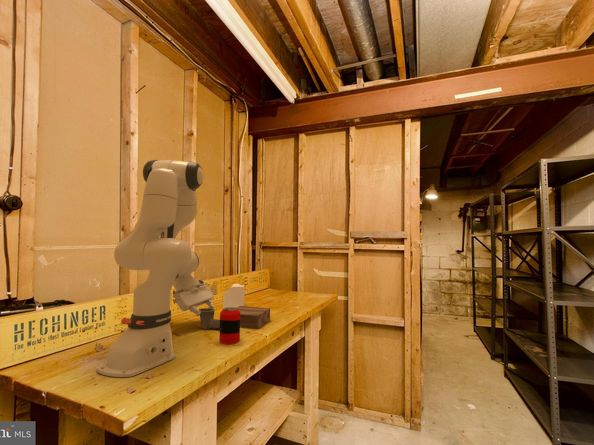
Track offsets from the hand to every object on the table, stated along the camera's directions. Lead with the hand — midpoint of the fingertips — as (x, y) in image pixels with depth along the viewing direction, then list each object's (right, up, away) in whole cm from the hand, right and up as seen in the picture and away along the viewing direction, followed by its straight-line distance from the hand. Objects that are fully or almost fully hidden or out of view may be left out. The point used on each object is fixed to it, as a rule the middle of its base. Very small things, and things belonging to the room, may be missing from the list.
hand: (206, 312), depth 127 cm
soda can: (+14, -6, -16) cm, 22 cm away
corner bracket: (+4, -9, +38) cm, 39 cm away
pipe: (+3, -7, -1) cm, 8 cm away
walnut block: (+17, -7, +7) cm, 20 cm away
